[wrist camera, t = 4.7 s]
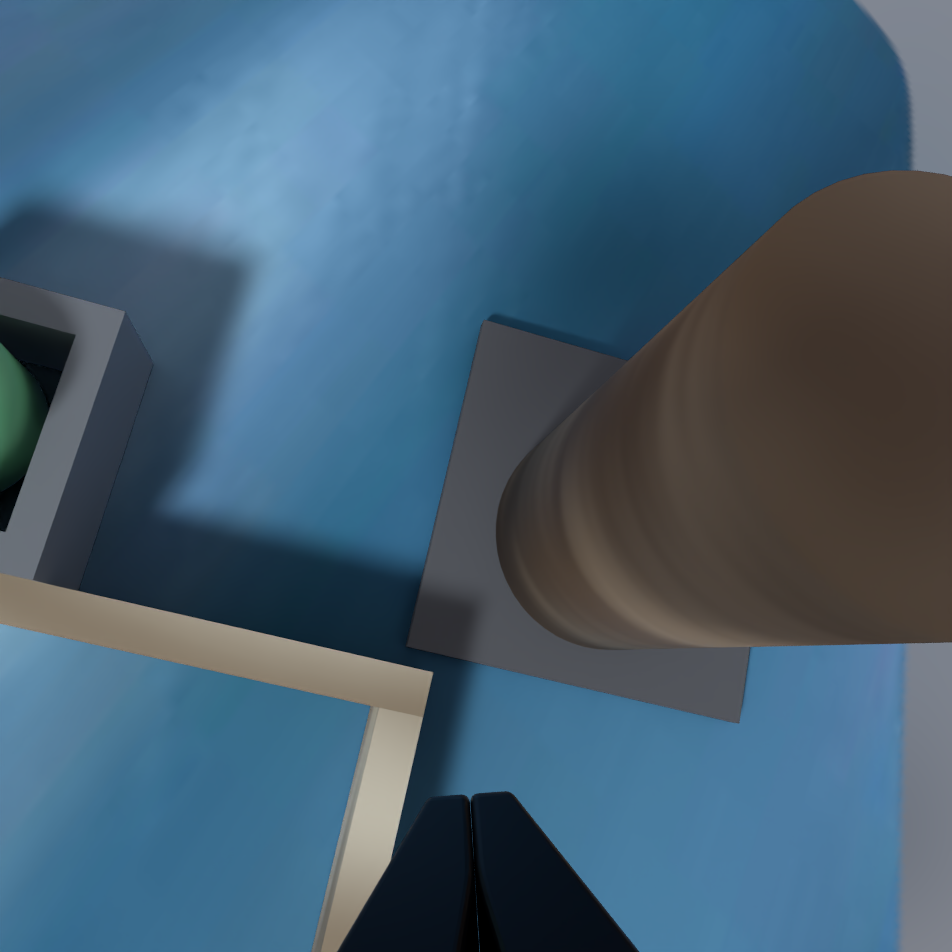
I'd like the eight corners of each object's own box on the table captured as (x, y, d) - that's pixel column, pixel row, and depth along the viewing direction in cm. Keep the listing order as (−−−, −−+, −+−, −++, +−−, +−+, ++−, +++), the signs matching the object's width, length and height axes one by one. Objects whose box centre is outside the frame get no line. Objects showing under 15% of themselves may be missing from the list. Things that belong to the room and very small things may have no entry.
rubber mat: (732, 722, 23) (739, 723, 23) (405, 646, 22) (407, 646, 22) (777, 409, 25) (784, 405, 25) (481, 325, 24) (484, 319, 24)
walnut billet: (692, 672, 23) (1153, 692, 10) (473, 620, 22) (685, 573, 10) (725, 457, 24) (1166, 246, 12) (521, 401, 24) (760, 111, 11)
